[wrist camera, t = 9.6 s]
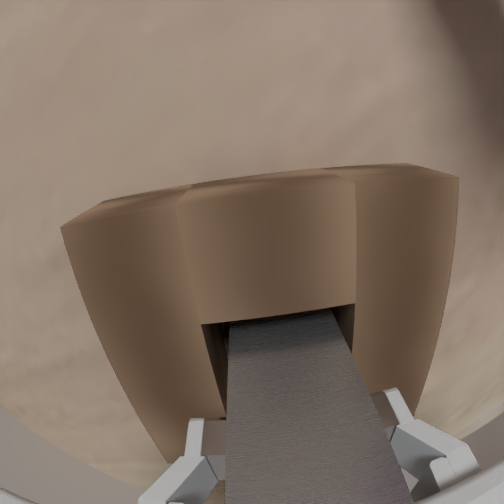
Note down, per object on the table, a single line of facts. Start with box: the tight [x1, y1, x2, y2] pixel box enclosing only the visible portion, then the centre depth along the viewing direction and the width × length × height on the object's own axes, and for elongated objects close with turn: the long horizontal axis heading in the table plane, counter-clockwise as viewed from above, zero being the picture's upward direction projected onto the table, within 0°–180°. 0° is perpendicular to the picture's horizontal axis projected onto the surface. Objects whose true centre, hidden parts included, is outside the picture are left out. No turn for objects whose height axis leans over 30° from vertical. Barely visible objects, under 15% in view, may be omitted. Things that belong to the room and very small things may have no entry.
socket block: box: [60, 163, 459, 463], centre depth 13 cm, size 14×14×4 cm
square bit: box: [225, 307, 414, 504], centre depth 9 cm, size 4×4×10 cm
